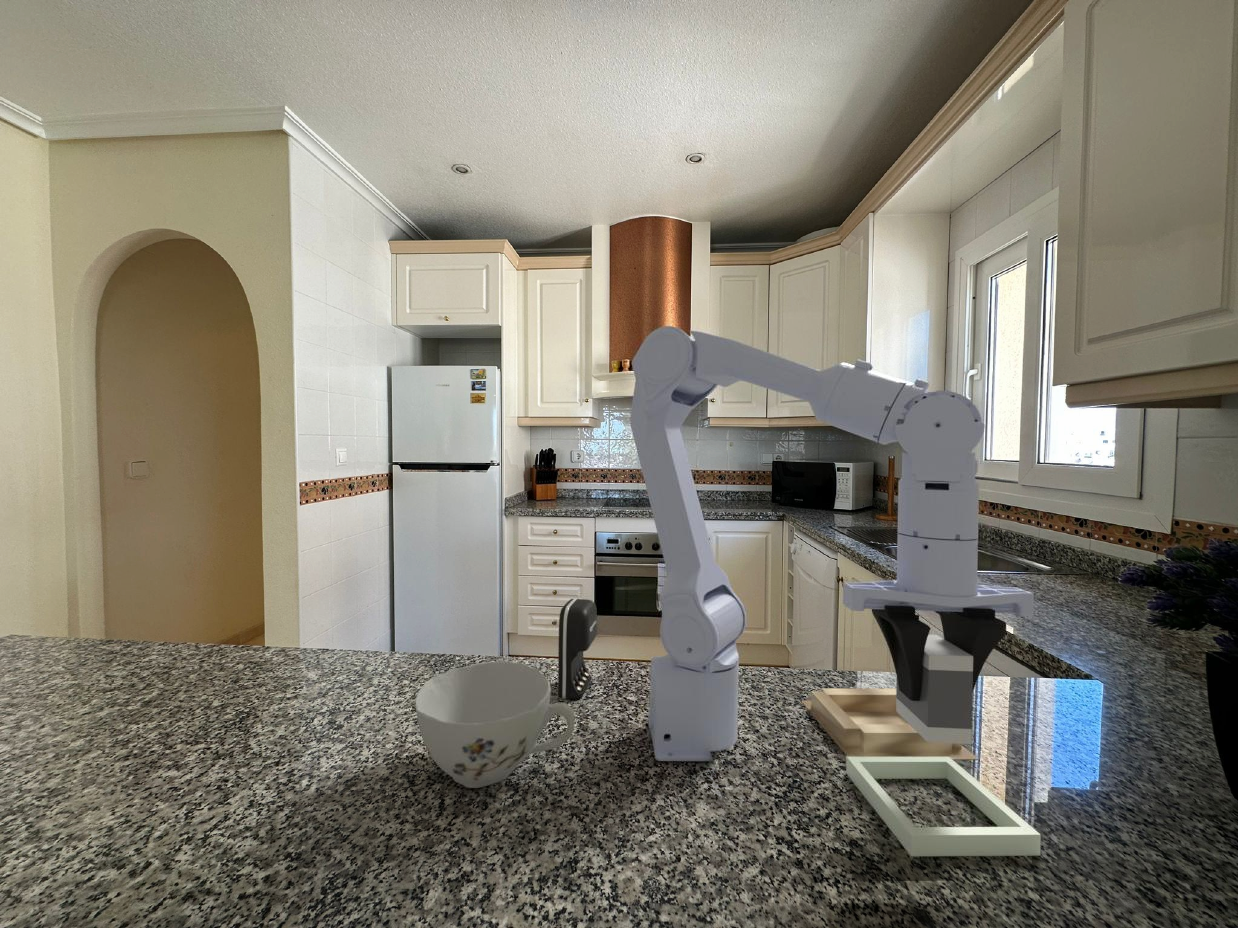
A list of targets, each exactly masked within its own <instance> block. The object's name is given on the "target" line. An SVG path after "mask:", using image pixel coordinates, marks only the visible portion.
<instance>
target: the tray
mask: <svg viewBox="0 0 1238 928" xmlns="http://www.w3.org/2000/svg"><path fill="white" fill-rule="evenodd" d="M845 773H846V775H847V776H848V777H849V779H850V780H851V782H853V783H854V785H855V786H856V788H857V789H858V790H859V792H860V793H862V796H864V798H865V799H866V801H867V802H868V803H869V804H870V806H871V807H872V808H873V809H874V811H875V812H876V813H877V814H878V816H879V817H880V818H881V820H882V821H883V822H884V823H885V825H886V826H887V827H888V829H889V830H890V831H891V833H893V835H894V836H895V837H896V839H897V840H898V841H899V842H900V844H901V845H902V846H903V848H904V849H905V850H906V852H907V853H908V855H910V856H911V857H986V856H987V857H996V856H999V857H1002V856H1004V857H1007V856H1009V857H1013V856H1020V857H1021V856H1022V857H1023V856H1025V857H1026V856H1027V857H1028V856H1041V844H1042V843H1041V839H1042V838H1041V837H1042V836H1041V835H1042V834H1041V833H1039V832H1038V831H1037V830H1036V829H1035V828H1033V827H1032V825H1030V824H1029V823H1028V822H1027V821H1026V820H1024V819H1023V818H1022V817H1020V815H1018V814H1017V813H1016V812H1015V811H1014V810H1012V809H1011V808H1010V807H1009V806H1008V805H1006V804H1005V803H1004V802H1003V801H1002V800H1001V799H1000V798H998V797H997V796H996V795H995V794H994V793H992V792H991V791H990V789H988V788H987V787H986V786H984V785H983V784H982V783H980V782H979V780H977V779H976V778H975V777H974V776H972V775H971V774H970V773H968V771H966V770H965V769H964V768H963V767H962V766H961V765H959V763H957V762H956V760H952V759H951V758H950V757H847V756H846V770H845ZM877 779H879V780H880V779H885V780H886V779H889V780H890V779H895V780H896V779H897V780H898V779H902V780H903V779H908V780H909V779H915V780H916V779H917V780H918V779H927V780H928V779H930V780H931V779H933V780H934V779H946V780H947V781H948V782H949V783H951V784H952V786H954V787H955V789H957V790H958V791H959V792H960V793H961V794H963V795H964V796H965V797H966V799H968V800H969V801H970V802H971V803H972V804H973V805H974V806H975V807H977V809H979V810H980V811H981V812H982V813H983V814H985V816H987V818H988V819H989V820H991V821H992V822H993V823H994V824H995V825H996V826H954V827H953V826H939V827H938V826H933V827H932V826H931V827H930V826H929V827H928V826H924V827H921V826H917V827H916V826H915V825H914V824H913V822H911V820H910V819H909V817H907V816H906V814H905V813H904V811H902V810H901V808H899V807H898V805H897V804H896V803H895V802H894V800H893V799H892V798H891V797H890V796H889V794H888V793H886V791H885V790H884V789H883V788H882V787H881V785H880V784H879V783H878V782H877Z"/></svg>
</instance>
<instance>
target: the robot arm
mask: <svg viewBox="0 0 1238 928" xmlns="http://www.w3.org/2000/svg"><path fill="white" fill-rule="evenodd" d="M689 333H690V334H691V335H692V336H690V335H688V334H687V333H686V332H685V331H684V330H683V329H682V328H679V327H676V326H673V325H671V326H670V325H667V326H662V327H658V328H656V329H654V330H653V331H651V332H650V333H649V334H648V335H647V336H646V337H645V338H644V340H643V342H642V343H641V345H640V347H639V349H638V350H637V352H636V354H635V355H634V357H633V359H632V360H631V366H632V371H633V374H634V379H635V382H634V389H633V395H632V396H633V397H632V402H631V403H632V404H631V409H630V417H629V420H630V428H631V432H632V436H633V440H634V444H635V448H636V452H637V455H638V456H637V457H638V460H639V465H640V469H641V472H642V476H643V480H644V485H645V488H646V493H647V496H648V500H649V504H650V509H651V512H652V516H653V521H654V524H655V529H656V532H657V536H658V540H659V546H660V548H661V549H660V550H661V554H662V556H663V561H664V564H665V565H664V566H665V568H666V577H665V581H664V583H663V586H662V588H661V591H660V594H659V603H660V607H661V621H660V625H659V626H660V627H659V634H660V635H659V636H660V640H661V644H662V646H663V648H664V650H665V652H666V653H667V654H665V655H661V656H660V655H659V656H653V657H651V660H650V673H649V674H650V676H649V681H650V682H649V710H648V715H647V719H648V720H647V723H648V729H649V730H650V734H651V736H650V737H651V741H652V746H653V752H654V758H655V760H656V761H658V762H714V758H713V755H712V753H711V752H719V751H724V750H726V749H730V748H731V747H732V746H734V745H735V744H736V743H737V741H738V729H739V728H738V727H739V726H738V725H739V724H738V721H739V720H738V715H739V668H740V667H739V665H740V663H739V660H740V656H739V653H738V649H737V640H738V639H739V638H741V636H742V635H743V634H744V632H745V630H746V626H747V623H748V622H747V619H748V617H747V611H746V609H745V606H744V603H743V602H742V600H741V599H740V597H738V595H737V594H736V593H735V591H734V590H733V588H732V586H731V582H730V580H729V579H730V578H729V576H728V574H727V573H726V572H725V571H724V570H723V569H722V568H721V566H720V565H718V563H717V562H716V560H715V555H714V552H713V549H712V545H711V541H710V537H709V533H708V529H707V527H706V526H707V525H706V523H705V519H704V516H703V511H702V507H701V504H700V499H699V496H698V492H697V488H696V484H695V481H694V477H693V474H692V470H691V466H690V462H689V457H688V455H687V450H686V446H685V443H684V439H683V436H682V431H681V427H682V425H683V423H684V421H685V420H686V419H687V417H688V416H689V414H690V413H691V411H692V410H694V409H695V408H696V407H697V406H698V405H699V404H700V403H701V402H703V401H704V400H705V399H707V397H709V396H710V395H711V394H712V393H713V392H714V391H715V390H716V388H717V387H718V386H720V387H723V388H727V387H730V386H732V385H734V384H736V383H738V382H740V381H741V382H746V383H749V384H752V385H753V386H754V385H755V386H759V387H760V388H761V387H762V388H765V389H767V390H771V391H774V392H776V393H780V394H783V395H787V396H789V397H793V398H796V399H798V400H802V401H804V402H808V404H809V405H810V407H811V410H812V413H813V415H814V417H815V418H816V420H817V422H821V423H823V424H826V425H829V426H832V427H835V428H837V429H840V430H842V431H845V432H849V433H851V434H854V435H856V436H859V437H862V438H865V439H868V440H869V441H872V442H875V443H879V444H881V445H884V446H886V445H889V444H891V443H899V445H900V446H901V448H902V449H903V450H904V451H905V452H902V453H901V457H902V458H901V477H900V479H899V480H898V487H897V488H898V489H897V491H898V492H897V546H896V548H897V549H896V579H894V580H893V579H892V580H880V581H879V580H878V581H877V580H876V581H863V582H862V581H861V582H842V583H843V584H842V585H843V586H842V604H843V605H844V606H845V608H848V610H849V609H850V610H851V611H852V612H853V611H854V612H855V611H857V612H864V611H865V610H871V613H872V615H873V617H874V619H875V621H876V623H877V625H878V627H879V628H880V629H879V630H880V631H881V633H882V635H883V638H884V640H885V642H886V645H887V647H888V650H889V652H890V656H891V658H892V659H891V660H892V663H893V666H894V670H895V674H896V681H897V680H898V685H899V691H901V692H902V693H903V694H904V695H905V696H906V697H907V698H908V699H910V700H911V701H919V700H920V696H921V690H922V661H923V655H924V649H925V645H926V641H927V637H928V634H929V635H930V631H931V627H930V625H928V624H927V623H925V622H923V621H922V620H920V615H919V614H916V611H922V612H925V611H926V612H928V611H929V612H939V618H940V621H941V627H942V633H943V639H944V640H946V641H948V642H950V643H951V644H953V645H955V646H956V647H958V648H960V649H961V650H963V651H965V652H967V653H968V654H970V655H972V656H973V691H974V690H975V687H976V684H977V681H978V678H979V676H980V673H981V671H982V669H983V667H984V665H985V663H986V661H987V659H988V658H989V656H990V655H991V653H992V652H993V650H994V649H995V647H996V646H997V645H998V644H999V642H1001V640H1002V639H1004V637H1005V636H1006V635H1007V622H1006V621H1004V620H1002V619H999V618H998V617H996V614H1014V615H1016V616H1020V617H1034V609H1035V608H1034V603H1035V602H1034V601H1035V600H1034V597H1035V596H1034V595H1035V594H1034V592H1031V591H1027V590H1025V589H1021V588H1020V587H1014V586H1013V587H1009V586H1008V587H1007V586H994V585H982V584H978V559H979V558H978V556H979V555H978V554H979V553H978V549H979V510H980V509H979V508H980V507H979V506H980V505H979V504H980V503H979V502H980V499H979V498H980V485H979V482H978V480H976V475H977V473H978V471H979V461H978V458H977V457H976V452H972V451H973V450H974V449H975V448H977V446H978V445H979V443H980V442H981V439H982V437H983V435H984V432H985V428H986V427H985V426H986V425H985V423H984V422H982V416H981V413H980V412H979V409H978V407H977V406H976V405H975V404H974V403H973V402H972V401H971V400H970V399H969V398H967V397H965V396H964V395H962V394H961V393H958V392H954V391H950V390H936V391H927V390H928V389H929V386H930V383H929V381H926V380H923V379H919V378H916V379H915V381H914V382H909V381H906V380H903V379H900V378H896V377H893V376H890V375H887V374H883V373H879V372H876V371H873V367H874V366H873V365H872V363H870V362H869V361H864V360H861V359H857V360H856V361H855V363H854V365H852V364H850V363H847V362H840V363H837V364H835V365H833V366H830V367H828V368H826V369H822V370H820V369H817V368H813V367H811V366H807V365H806V364H802V363H799V362H797V361H794V360H792V359H791V360H790V359H788V358H785V357H783V356H781V355H780V356H779V355H776V354H774V353H771V352H768V351H766V350H762V349H760V348H756V347H754V346H752V345H749V344H748V345H747V344H745V343H742V342H740V341H737V340H734V339H731V338H726V337H722V336H720V335H719V336H718V335H714V334H710V333H706V332H703V331H699V330H698V331H697V330H689Z"/></svg>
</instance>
